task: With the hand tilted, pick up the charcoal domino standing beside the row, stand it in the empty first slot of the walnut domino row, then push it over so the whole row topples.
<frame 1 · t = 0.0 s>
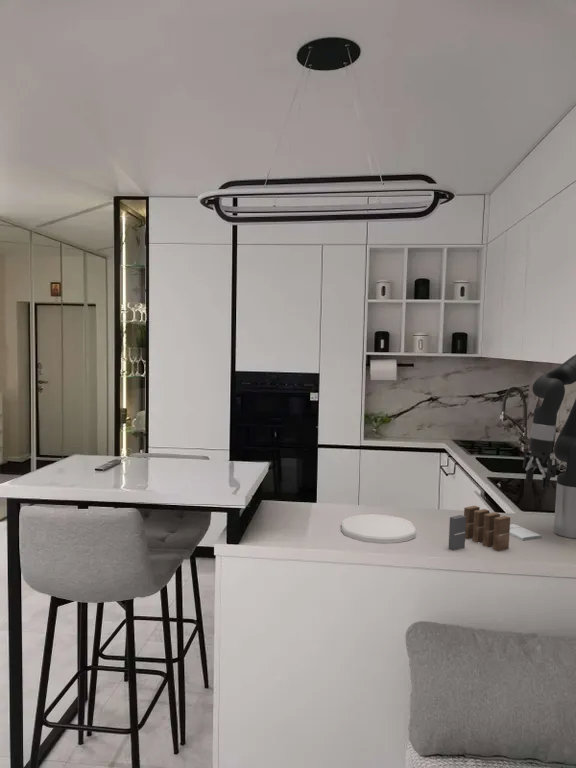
hand: (536, 485, 189), 17 cm above the countertop, tool pointing down, fingers open, 8 cm apart
decorative plate: (377, 532, 193), on the countertop
domino 5: (500, 548, 178), on the countertop
domino 2: (470, 536, 188), on the countertop
domino 3: (480, 540, 185), on the countertop
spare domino: (456, 548, 178), on the countertop
domino 4: (490, 544, 181), on the countertop
external hard drive: (518, 535, 193), on the countertop
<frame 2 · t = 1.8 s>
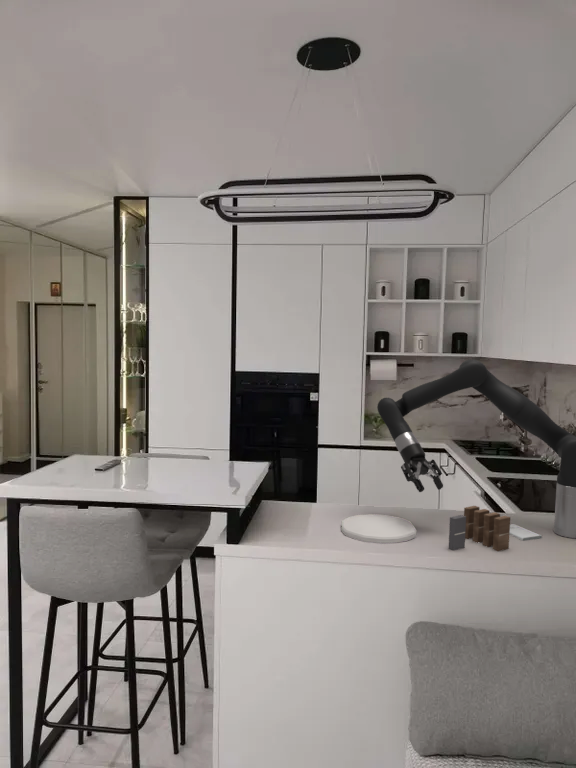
hand: (431, 489, 186), 16 cm above the countertop, tool tilted 45°, fingers open, 8 cm apart
nothing on the countertop moved.
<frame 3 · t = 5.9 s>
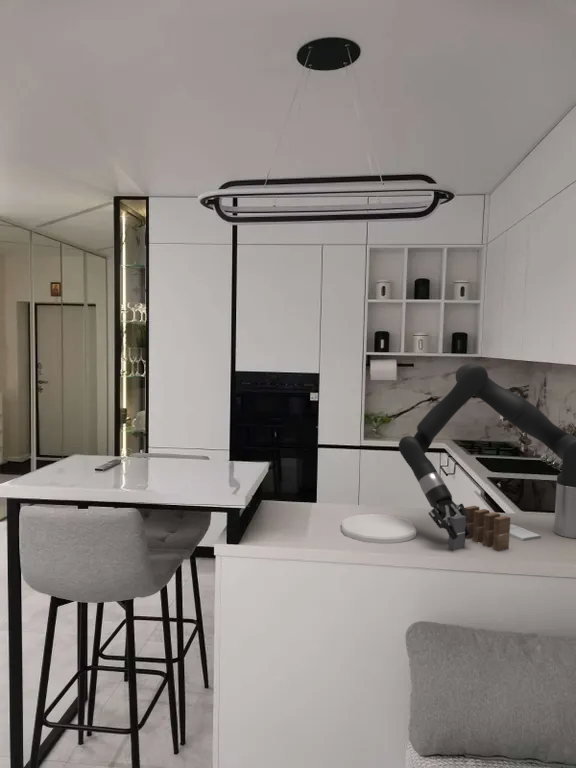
hand: (461, 536, 176), 4 cm above the countertop, tool tilted 45°, fingers closed on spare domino, 5 cm apart
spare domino: (456, 548, 178), on the countertop, touching gripper
everything else where it was.
when the fingers open (5 cm above the countertop, at t = 12.7 s): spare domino stays where it is, on the countertop.
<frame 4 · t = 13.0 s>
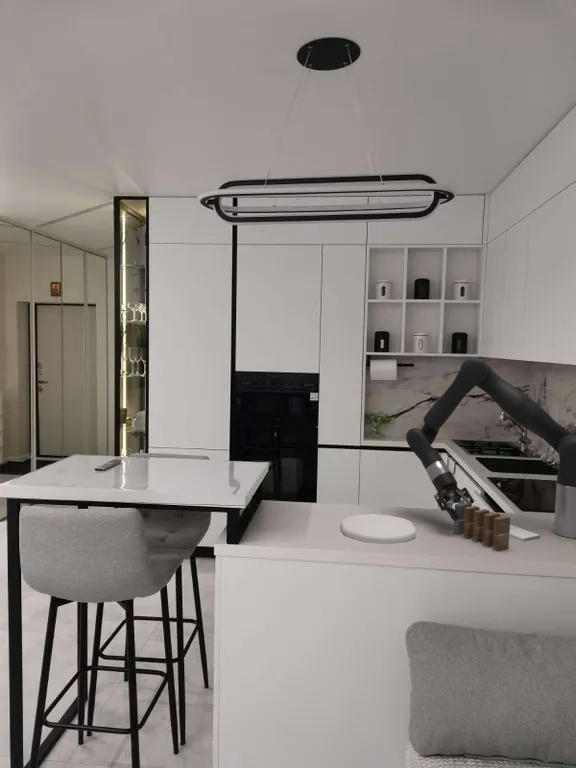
hand: (465, 518, 190), 6 cm above the countertop, tool tilted 45°, fingers open, 8 cm apart
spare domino: (461, 533, 191), on the countertop
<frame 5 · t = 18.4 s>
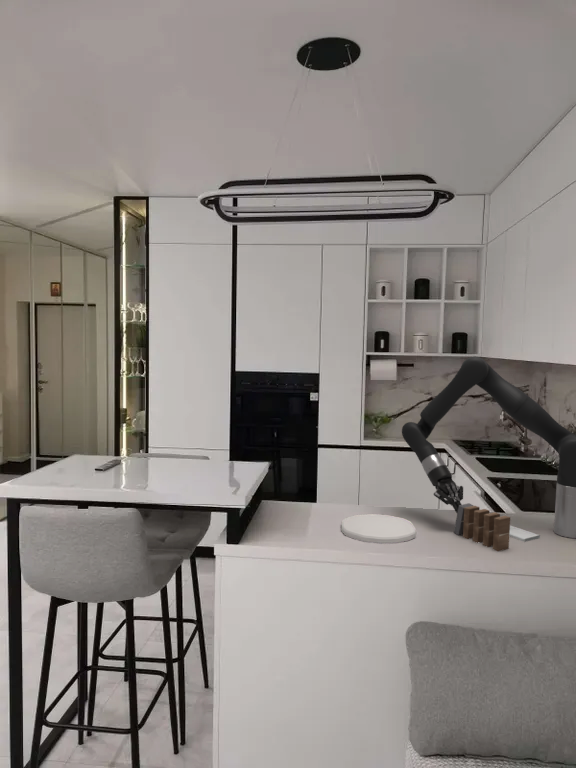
hand: (461, 513, 191), 7 cm above the countertop, tool tilted 45°, fingers closed
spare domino: (461, 532, 191), on the countertop, tilted 10°
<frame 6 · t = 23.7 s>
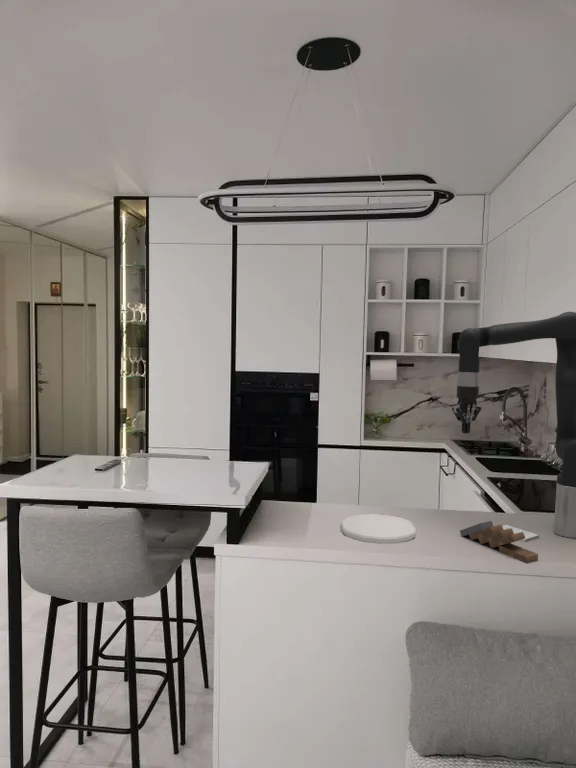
hand: (465, 433, 202), 32 cm above the countertop, tool pointing down, fingers closed
domino 5: (504, 547, 176), point 1 cm above the countertop, tilted 90°, touching domino 4
domino 2: (475, 536, 186), point 1 cm above the countertop, tilted 59°, touching domino 3, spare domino
domino 3: (484, 540, 183), point 1 cm above the countertop, tilted 59°, touching domino 2, domino 4
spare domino: (466, 532, 190), point 1 cm above the countertop, tilted 59°, touching domino 2
domino 4: (495, 543, 179), point 1 cm above the countertop, tilted 59°, touching domino 3, domino 5
at the end: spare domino 1.9 cm from the target spot, point 0.8 cm above the countertop; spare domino tilted 59°; domino 5 tilted 90° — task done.
